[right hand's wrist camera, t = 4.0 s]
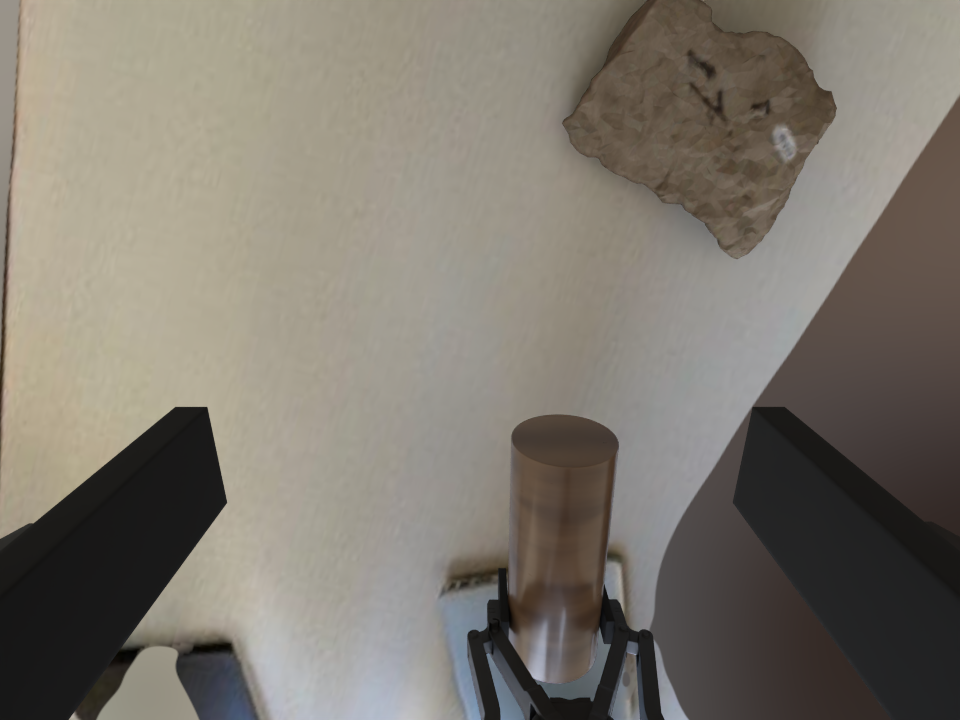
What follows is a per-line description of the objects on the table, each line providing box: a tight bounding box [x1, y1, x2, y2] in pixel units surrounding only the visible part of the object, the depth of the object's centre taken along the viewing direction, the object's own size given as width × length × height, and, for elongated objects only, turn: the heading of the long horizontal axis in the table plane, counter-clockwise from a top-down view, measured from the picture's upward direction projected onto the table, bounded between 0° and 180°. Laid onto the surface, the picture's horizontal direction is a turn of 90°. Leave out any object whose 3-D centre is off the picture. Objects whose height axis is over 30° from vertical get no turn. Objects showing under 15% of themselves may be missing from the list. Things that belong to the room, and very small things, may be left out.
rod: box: [508, 415, 619, 684], centre depth 47 cm, size 23×9×9 cm, turn 0°
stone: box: [562, 0, 837, 259], centre depth 45 cm, size 21×15×6 cm
